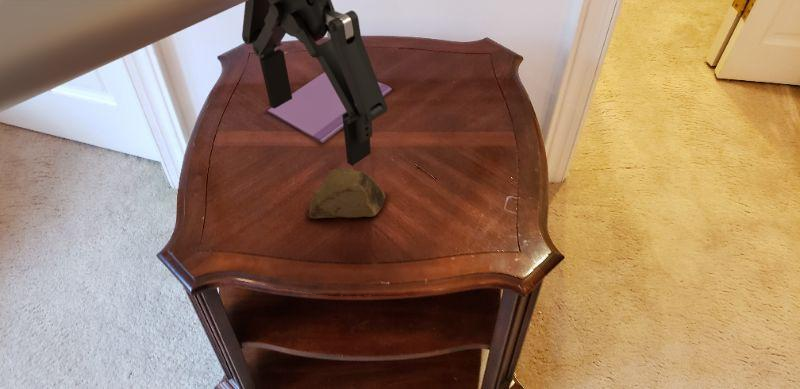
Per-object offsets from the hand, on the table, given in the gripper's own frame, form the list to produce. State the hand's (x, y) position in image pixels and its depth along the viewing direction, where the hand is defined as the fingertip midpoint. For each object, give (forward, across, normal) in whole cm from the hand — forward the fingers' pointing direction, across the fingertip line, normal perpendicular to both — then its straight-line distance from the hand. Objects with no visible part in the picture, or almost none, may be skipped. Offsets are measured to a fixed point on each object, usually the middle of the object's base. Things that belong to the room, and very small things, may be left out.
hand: (318, 129), depth 62 cm
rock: (+20, +3, -5) cm, 21 cm away
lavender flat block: (+20, +24, -20) cm, 37 cm away
